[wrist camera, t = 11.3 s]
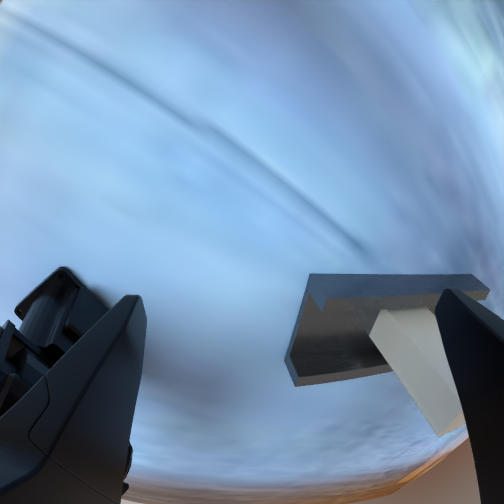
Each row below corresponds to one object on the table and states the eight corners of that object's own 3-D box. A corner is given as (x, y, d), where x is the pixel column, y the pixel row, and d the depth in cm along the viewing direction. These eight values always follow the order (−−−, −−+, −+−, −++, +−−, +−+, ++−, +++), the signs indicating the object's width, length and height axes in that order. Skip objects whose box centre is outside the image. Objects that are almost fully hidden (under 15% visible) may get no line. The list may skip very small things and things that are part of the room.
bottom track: (284, 360, 27) (294, 386, 24) (309, 273, 23) (326, 297, 20) (439, 339, 32) (453, 355, 30) (471, 274, 28) (490, 289, 26)
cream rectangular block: (368, 335, 27) (438, 437, 17) (382, 304, 26) (464, 407, 15) (407, 331, 29) (476, 418, 18) (421, 302, 27) (500, 388, 17)
